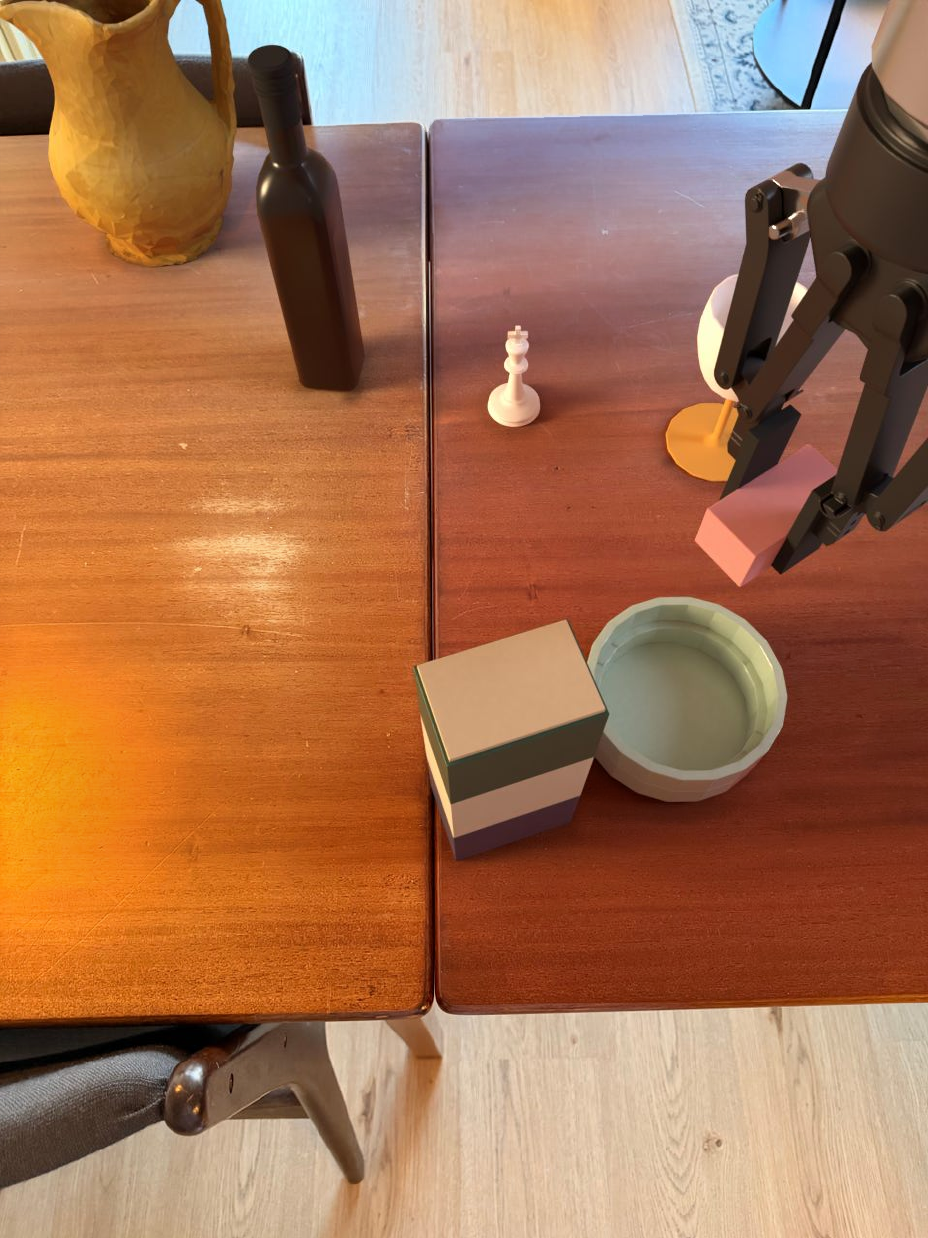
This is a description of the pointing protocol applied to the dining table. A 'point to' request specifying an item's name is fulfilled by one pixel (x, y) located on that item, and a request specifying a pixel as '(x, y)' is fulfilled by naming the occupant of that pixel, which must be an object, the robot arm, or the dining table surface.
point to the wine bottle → (305, 234)
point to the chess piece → (515, 386)
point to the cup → (709, 425)
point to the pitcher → (135, 123)
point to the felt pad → (509, 690)
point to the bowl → (685, 698)
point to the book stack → (509, 780)
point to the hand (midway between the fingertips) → (766, 528)
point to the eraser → (761, 515)
